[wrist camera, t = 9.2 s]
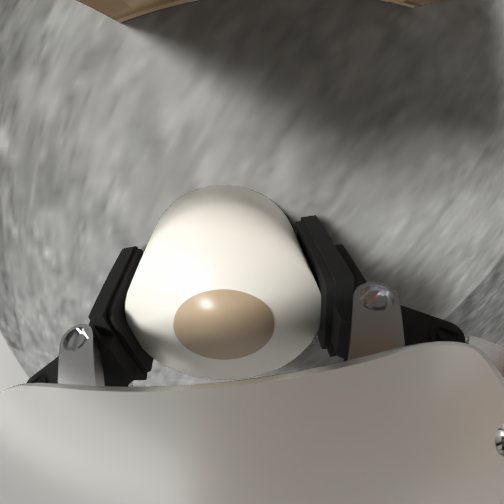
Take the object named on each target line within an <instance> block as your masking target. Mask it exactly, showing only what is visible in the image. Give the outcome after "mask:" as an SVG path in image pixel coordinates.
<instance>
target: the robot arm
mask: <svg viewBox="0 0 504 504" xmlns="http://www.w3.org/2000/svg"><path fill="white" fill-rule="evenodd" d="M296 229H297V239H298V241H299V244H300V246H301V248H302V251H303V253H304V255H305V257H306V260H307V262H308V264H309V267H310V269H311V271H312V274H313V276H314V279H315V281H316V283H317V286H318V288H319V291H320V293H321V318H320V328H319V330H318V332H317V335H318V338H319V341H320V344H321V347H322V349H328V352H329V355H330V356H335V355H336V356H339V357H341V358H343V359H344V361H343V362H339V363H334V364H330V365H325V366H321V367H316V368H311V369H306V370H301V371H296V372H290V373H285V374H279V375H273V376H266V377H260V378H252V379H245V380H237V381H228V382H218V383H208V384H195V385H179V386H153V387H133V384H132V381H134V380H146V378H147V372H150V371H151V368H152V362H153V357H151V356H150V355H149V354H148V353H147V352H145V350H144V349H143V348H142V347H141V345H140V343H139V342H138V340H137V339H136V337H135V335H134V334H133V332H132V330H131V329H130V327H129V325H128V323H127V320H126V314H125V301H126V297H127V292H128V290H129V287H130V285H131V282H132V280H133V277H134V275H135V272H136V270H137V267H138V265H139V263H140V260H141V258H142V256H143V251H142V249H138V248H137V247H136V246H134V247H129V248H124V249H122V251H121V253H120V255H119V256H118V258H117V260H116V262H115V264H114V266H113V268H112V269H111V271H110V273H109V275H108V277H107V279H106V281H105V283H104V285H103V287H102V289H101V291H100V293H99V295H98V297H97V299H96V302H95V304H94V306H93V308H92V310H91V312H90V314H89V319H90V320H91V321H90V323H89V325H87V324H80V325H76V326H74V327H72V328H71V329H69V330H68V331H67V332H66V333H65V334H64V336H63V337H62V339H61V342H60V349H59V356H58V357H57V358H56V359H54V360H53V361H52V362H50V363H49V364H48V365H47V366H45V367H44V368H43V369H41V370H40V371H39V372H37V373H36V374H35V375H34V376H32V377H31V378H30V379H29V380H28V382H27V383H26V384H20V385H17V386H13V387H10V388H8V389H6V390H4V391H2V392H1V393H0V504H504V346H502V345H499V344H496V343H493V342H490V341H487V340H484V339H480V338H477V337H474V336H471V335H470V336H469V337H468V338H465V336H464V334H463V332H462V331H461V329H460V328H458V327H457V326H456V325H455V324H452V323H450V322H448V321H445V320H442V319H439V318H436V317H433V316H430V315H427V314H424V313H421V312H419V311H416V310H413V309H410V308H407V307H404V306H401V305H400V299H399V296H398V293H397V292H396V291H395V289H394V288H392V287H391V286H389V285H387V284H385V283H381V282H366V280H365V279H364V277H363V275H362V274H361V272H360V271H359V269H358V268H357V266H356V264H355V263H354V261H353V260H352V258H351V257H350V255H349V254H348V252H347V251H346V249H345V248H344V246H343V245H341V244H340V245H334V243H333V241H332V240H331V238H330V237H329V235H328V234H327V232H326V230H325V229H324V227H323V226H322V224H321V223H320V221H319V220H318V218H317V217H316V216H315V215H314V216H308V217H301V221H299V222H296Z"/></svg>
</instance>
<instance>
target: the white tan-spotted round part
mask: <svg viewBox="0 0 504 504" xmlns="http://www.w3.org/2000/svg"><path fill="white" fill-rule="evenodd" d="M125 314H126V320H127V323H128V325H129V327H130V329H131V330H132V332H133V334H134V335H135V337H136V339H137V340H138V342H139V343H140V345H141V347H142V348H143V349H144V350H145V352H147V353H148V354H149V355H150V356H151V357H153V358H154V359H155V360H157V361H158V362H160V363H161V364H163V365H165V366H167V367H169V368H171V369H173V370H175V371H178V372H180V373H183V374H186V375H189V376H194V377H198V378H204V379H211V380H237V379H245V378H251V377H255V376H259V375H262V374H265V373H268V372H271V371H273V370H276V369H278V368H280V367H282V366H284V365H286V364H287V363H289V362H290V361H292V360H293V359H295V358H296V357H297V356H299V355H300V354H301V353H302V352H303V351H304V350H305V349H306V348H307V347H308V346H309V345H310V343H311V342H312V340H313V339H314V338H315V336H316V334H317V332H318V330H319V328H320V318H321V293H320V291H319V288H318V286H317V283H316V281H315V279H314V276H313V274H312V271H311V269H310V267H309V264H308V262H307V260H306V257H305V255H304V253H303V251H302V248H301V246H300V244H299V241H298V239H297V237H296V235H295V233H294V230H293V228H292V226H291V224H290V222H289V220H288V218H287V217H286V215H285V214H284V212H283V211H282V210H281V209H280V208H279V207H278V206H277V205H276V204H275V203H274V202H272V201H271V200H270V199H268V198H267V197H265V196H263V195H262V194H260V193H258V192H255V191H253V190H250V189H247V188H243V187H239V186H232V185H216V186H208V187H204V188H200V189H197V190H194V191H192V192H189V193H187V194H186V195H184V196H182V197H180V198H179V199H178V200H176V201H175V202H174V203H172V204H171V205H170V206H169V207H168V208H167V209H166V210H165V212H164V213H163V215H162V216H161V217H160V219H159V221H158V223H157V225H156V227H155V229H154V231H153V233H152V236H151V238H150V240H149V242H148V244H147V247H146V249H145V251H144V253H143V256H142V258H141V260H140V263H139V265H138V267H137V270H136V272H135V275H134V277H133V280H132V282H131V285H130V287H129V290H128V292H127V297H126V301H125Z"/></svg>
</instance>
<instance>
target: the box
mask: <svg viewBox="0 0 504 504" xmlns="http://www.w3.org/2000/svg"><path fill="white" fill-rule="evenodd" d="M77 1H79V2H81V3H83V4H85V5H87V6H89V7H91V8H93V9H95V10H97V11H99V12H101V13H103V14H105V15H107V16H108V17H110V18H112V19H114V20H116V21H117V22H119V23H121V22H123V21H126V20H129V19H132V18H135V17H138V16H141V15H144V14H147V13H150V12H153V11H157V10H160V9H164V8H168V7H171V6H175V5H180V4H184V3H188V2H193V1H198V0H77ZM380 1H385V2H390V3H394V4H399V5H403V6H406V7H410V8H414V7H417V6H421V5H425V4H429V3H433V2H437V1H442V0H380Z"/></svg>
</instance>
